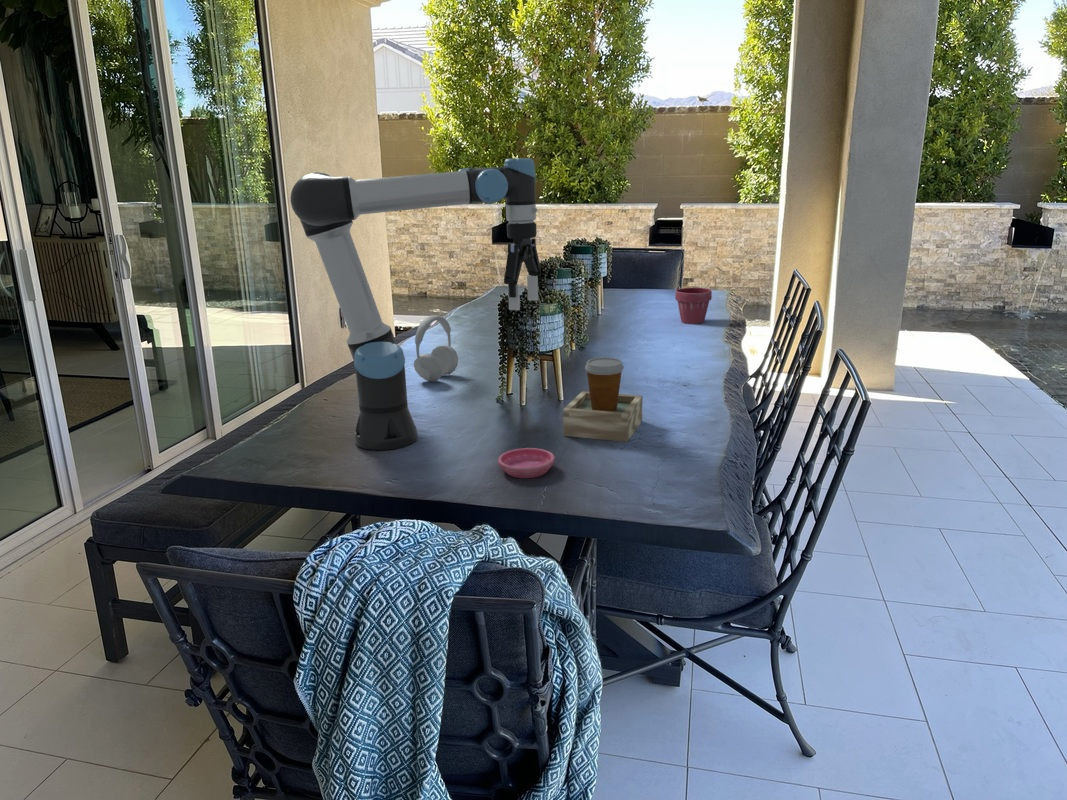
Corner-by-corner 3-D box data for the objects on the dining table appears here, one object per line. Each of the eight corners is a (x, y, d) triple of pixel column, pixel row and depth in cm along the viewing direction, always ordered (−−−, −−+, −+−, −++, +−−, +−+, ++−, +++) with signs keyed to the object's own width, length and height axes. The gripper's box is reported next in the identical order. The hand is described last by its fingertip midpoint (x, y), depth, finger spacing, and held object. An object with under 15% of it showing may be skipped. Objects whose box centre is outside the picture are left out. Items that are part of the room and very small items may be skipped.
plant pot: (668, 320, 324) (669, 288, 320) (699, 317, 328) (700, 286, 324) (685, 326, 311) (686, 294, 307) (717, 323, 315) (718, 291, 311)
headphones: (432, 388, 239) (428, 322, 233) (407, 385, 243) (402, 320, 237) (464, 373, 255) (461, 311, 249) (440, 370, 259) (436, 309, 253)
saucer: (487, 474, 175) (486, 460, 174) (519, 456, 185) (519, 443, 184) (534, 485, 168) (534, 472, 167) (565, 466, 178) (565, 453, 177)
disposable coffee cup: (577, 408, 200) (576, 362, 196) (603, 400, 206) (603, 355, 202) (605, 417, 193) (605, 369, 189) (631, 408, 199) (631, 361, 195)
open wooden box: (627, 442, 191) (627, 415, 189) (563, 435, 196) (563, 409, 194) (642, 421, 205) (642, 395, 203) (582, 415, 211) (582, 391, 209)
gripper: (517, 226, 190) (520, 314, 196) (551, 217, 212) (553, 297, 218) (488, 226, 192) (492, 313, 199) (525, 217, 215) (527, 296, 221)
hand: (523, 305), depth 208 cm, fingers open, 13 cm apart
